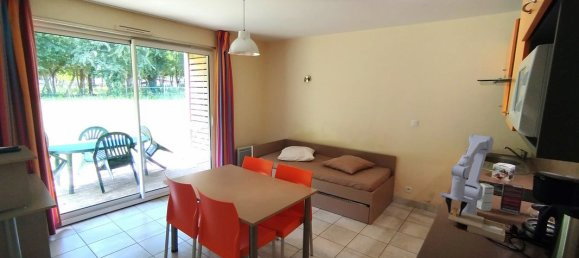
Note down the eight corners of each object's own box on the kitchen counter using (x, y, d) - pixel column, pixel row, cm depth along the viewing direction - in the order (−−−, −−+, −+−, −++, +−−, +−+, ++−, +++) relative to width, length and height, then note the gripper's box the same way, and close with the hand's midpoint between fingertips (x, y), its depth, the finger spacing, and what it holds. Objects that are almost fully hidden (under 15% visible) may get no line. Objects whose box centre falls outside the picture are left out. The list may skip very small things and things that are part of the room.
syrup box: (491, 211, 151) (495, 186, 149) (481, 210, 151) (485, 186, 149) (483, 206, 157) (487, 183, 155) (473, 206, 157) (477, 183, 154)
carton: (470, 220, 139) (470, 215, 138) (504, 230, 130) (505, 224, 130) (466, 231, 128) (467, 225, 128) (503, 242, 119) (504, 236, 119)
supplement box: (518, 212, 151) (523, 185, 148) (519, 215, 147) (524, 188, 144) (499, 208, 156) (503, 182, 153) (499, 211, 152) (503, 184, 149)
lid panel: (452, 210, 144) (452, 203, 143) (483, 218, 135) (484, 211, 134) (447, 219, 133) (448, 212, 132) (481, 229, 124) (482, 222, 124)
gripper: (440, 187, 136) (437, 211, 138) (474, 194, 127) (470, 221, 129) (442, 183, 142) (439, 207, 144) (475, 190, 133) (472, 216, 135)
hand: (454, 213), depth 137 cm, fingers open, 4 cm apart
